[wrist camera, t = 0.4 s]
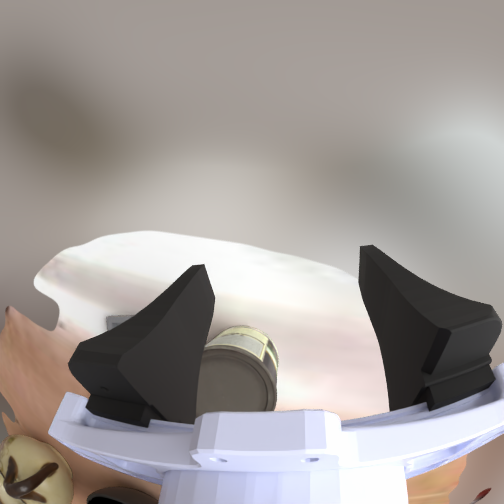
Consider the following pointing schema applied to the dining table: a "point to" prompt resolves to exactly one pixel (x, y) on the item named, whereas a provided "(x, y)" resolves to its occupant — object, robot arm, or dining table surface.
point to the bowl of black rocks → (119, 496)
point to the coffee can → (238, 373)
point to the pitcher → (33, 473)
